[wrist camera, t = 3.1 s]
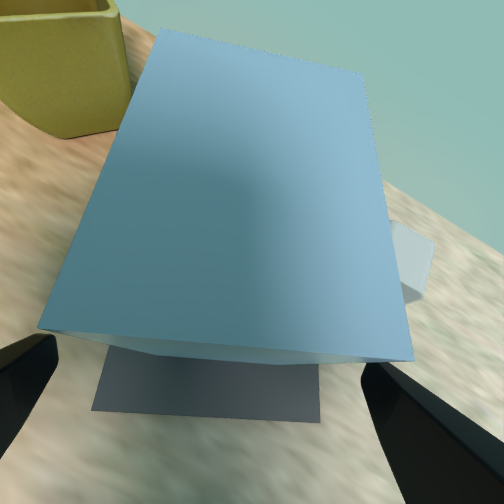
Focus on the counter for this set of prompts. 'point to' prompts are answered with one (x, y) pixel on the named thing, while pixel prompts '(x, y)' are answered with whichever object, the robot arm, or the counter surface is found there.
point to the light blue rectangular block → (238, 218)
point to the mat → (207, 387)
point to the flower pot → (64, 65)
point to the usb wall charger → (412, 260)
